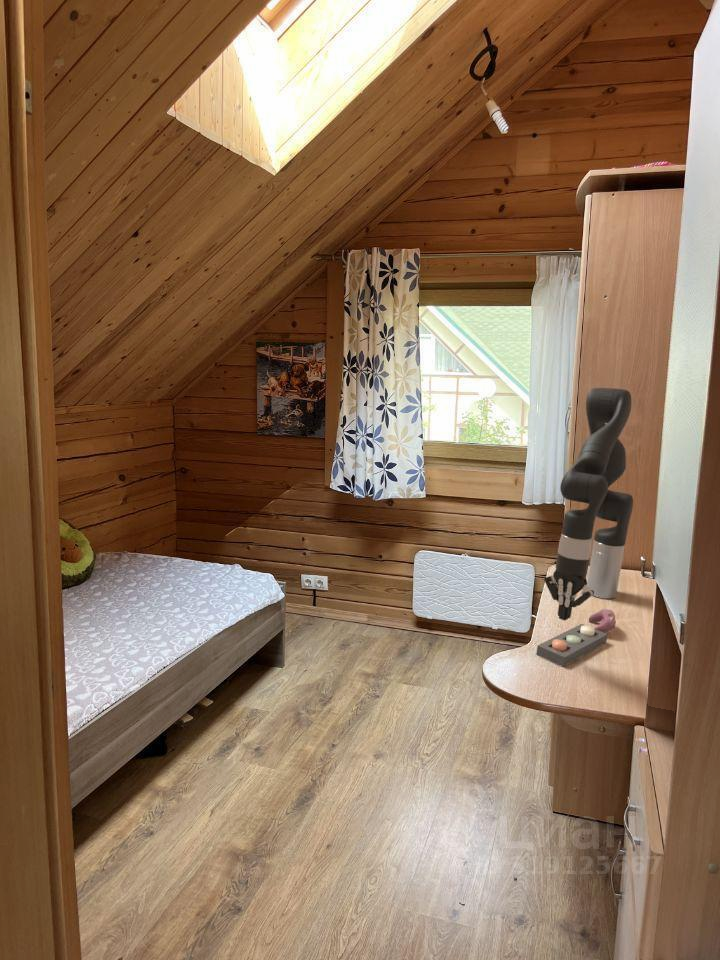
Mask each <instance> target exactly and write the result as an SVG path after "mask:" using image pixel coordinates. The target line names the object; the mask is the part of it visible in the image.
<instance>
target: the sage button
mask: <svg viewBox="0 0 720 960" xmlns="http://www.w3.org/2000/svg"><path fill="white" fill-rule="evenodd" d="M566 641H569V642H571V643H574V644H576V645H578V644H579V643H581V638H579V637H578V636H575V635H568V636H567V638H566Z"/></svg>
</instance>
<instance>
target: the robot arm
mask: <svg viewBox="0 0 720 960" xmlns="http://www.w3.org/2000/svg"><path fill="white" fill-rule="evenodd" d="M585 399H586V400H585V412H586V419H587V420H586V421H587V425H588V429H589V437H587V439H585V441H584V442H583V444H582V446H581V449H580V451H579V454H578V458H577V460H576V461H575V462H574V464H573V465H572V466H571V467H570V468H569V470H568V471H566V473H565V474H564V476H563V477H562V479H561V482H560V488H559V490H560V493H561V495H562V497H563V498H564V499H566V500H568V501H572V502H577V503H584V504H588V505H587V506H588V507H586V508H584V509H570V510H567V511H566V512H565V513H564V515H563V516H564V517H563V521H562V522H563V523H562V529H561V535H560V539H559V543H558V548H557V554H556V556H557V557H556V562H555V570H554V571H553V574H552V575H549V576H546V577H544V579H543V580H544V582H545V584H546V587H547V590H548V591H549V593H550V596H551V598H552V600H554V601H556V602H557V603H558V608H557V609H558V610H557V615H558V616H557V617H558V618H559V619H560V620H561V621H565V622H566V621H567V620H569V619H570V618H571V617H572V609H573V608H577V607H578V606H581V605H582V604H583V603H584V602H586V601H587V600H588V599H589V598H591V597H596V598H600V599H607V600H610V599H615V598H616V597H617V594H618V589H619V588H618V587H619V583H620V577H621V571H622V565H623V558H624V553H625V546H626V539H627V537H628V536H627V535H628V529H629V525H630V520H631V517H632V512H633V508H634V499H633V496H632V495H631V494H630V493H626V492H620V491H615V490H610V489H609V487H610V486H611V485H613V484H614V483H615V482H616V481H618V480H619V479H620V478H621V477H622V476H623V475H624V473H625V471H626V468H627V455H626V454H627V452H626V449H625V446H624V444H623V442H621V440H620V439H619V437H620V436H621V434H622V432H623V430H624V428H625V425H626V424H627V422H628V420H629V418H630V415H631V411H632V394H631V392H630V391H629V390H628V389H622V388H614V387H613V388H612V387H595V388H594V387H593V388H592V389H590V390H589V391H588V393H587V395H586V398H585ZM596 518H598V519H601V520H604V521H611V522H614V523H616V524H615V526H612V527H606V528H599V529H597V530H596V531H595V532H594V527H595V521H596ZM593 532H594V536H593ZM592 539H593V543H592ZM591 550H592V551H591ZM587 575H588V576H587ZM580 591H581V593H580V594H581V595H580V596H579V597H578V598H577V595H578V594H579V592H580ZM559 619H558V620H559Z"/></svg>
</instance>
